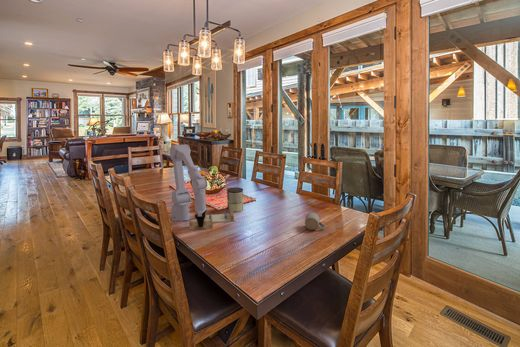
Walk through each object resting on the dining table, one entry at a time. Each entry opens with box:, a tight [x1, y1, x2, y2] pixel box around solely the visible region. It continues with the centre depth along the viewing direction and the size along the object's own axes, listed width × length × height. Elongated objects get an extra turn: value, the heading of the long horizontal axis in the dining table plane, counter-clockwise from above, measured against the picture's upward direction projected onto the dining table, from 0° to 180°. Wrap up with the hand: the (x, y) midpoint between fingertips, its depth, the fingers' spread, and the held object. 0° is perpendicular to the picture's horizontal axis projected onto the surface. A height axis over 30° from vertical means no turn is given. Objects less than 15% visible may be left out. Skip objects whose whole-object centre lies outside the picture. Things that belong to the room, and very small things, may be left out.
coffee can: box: [226, 186, 244, 214], centre depth 187 cm, size 10×10×14 cm
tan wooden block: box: [188, 218, 213, 231], centre depth 158 cm, size 12×4×5 cm, turn 97°
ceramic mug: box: [304, 212, 326, 231], centre depth 157 cm, size 11×8×8 cm
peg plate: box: [204, 210, 237, 223], centre depth 172 cm, size 20×12×3 cm, turn 98°
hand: (201, 225), depth 158 cm, fingers open, 5 cm apart
